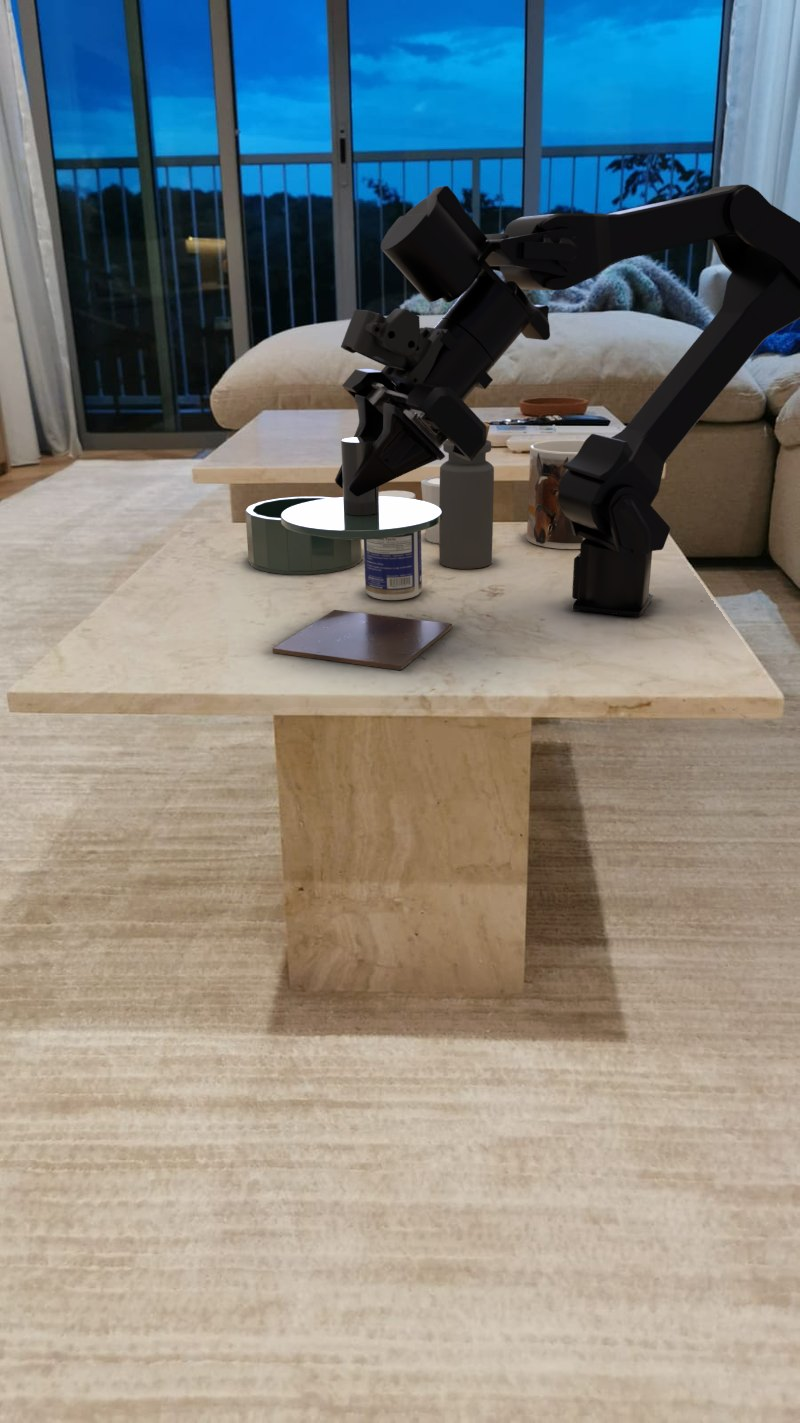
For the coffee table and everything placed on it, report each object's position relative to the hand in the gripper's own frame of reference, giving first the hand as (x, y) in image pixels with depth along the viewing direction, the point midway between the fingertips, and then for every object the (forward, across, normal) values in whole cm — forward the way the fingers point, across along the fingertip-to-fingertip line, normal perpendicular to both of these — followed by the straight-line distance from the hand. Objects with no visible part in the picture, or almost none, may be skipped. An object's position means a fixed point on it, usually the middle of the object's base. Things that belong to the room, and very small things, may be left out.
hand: (345, 489), depth 89 cm
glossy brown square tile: (+9, 0, +10) cm, 13 cm away
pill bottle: (+3, -12, +16) cm, 21 cm away
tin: (+6, -29, +13) cm, 32 cm away
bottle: (-5, -20, +24) cm, 32 cm away
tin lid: (+1, 0, +3) cm, 3 cm away
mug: (-16, -24, +36) cm, 46 cm away
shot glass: (-7, -32, +26) cm, 42 cm away
